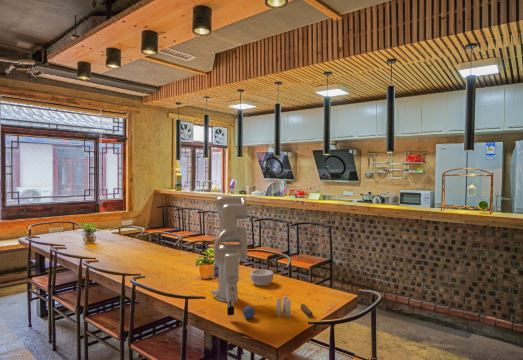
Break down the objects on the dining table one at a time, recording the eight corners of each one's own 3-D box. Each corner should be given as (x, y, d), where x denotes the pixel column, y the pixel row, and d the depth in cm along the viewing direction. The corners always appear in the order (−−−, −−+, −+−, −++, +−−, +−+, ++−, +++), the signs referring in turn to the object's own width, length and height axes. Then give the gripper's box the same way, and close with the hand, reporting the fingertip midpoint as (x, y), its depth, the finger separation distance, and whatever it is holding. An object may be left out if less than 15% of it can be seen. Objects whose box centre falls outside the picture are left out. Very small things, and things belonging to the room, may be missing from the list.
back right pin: (285, 317, 180) (286, 301, 180) (285, 315, 183) (286, 299, 182) (290, 317, 180) (290, 301, 180) (290, 315, 182) (290, 299, 182)
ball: (242, 320, 176) (242, 308, 176) (243, 315, 182) (244, 303, 182) (253, 320, 176) (254, 309, 175) (255, 316, 182) (255, 304, 181)
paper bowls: (253, 279, 242) (253, 268, 242) (274, 281, 239) (275, 269, 239) (248, 286, 228) (248, 274, 227) (271, 288, 224) (271, 276, 224)
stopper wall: (308, 317, 180) (308, 312, 180) (300, 308, 192) (300, 304, 192) (312, 317, 181) (312, 312, 181) (304, 308, 193) (304, 303, 192)
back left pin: (282, 313, 185) (283, 297, 185) (283, 311, 188) (283, 295, 187) (287, 313, 185) (287, 297, 185) (287, 312, 187) (287, 296, 187)
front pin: (276, 316, 182) (276, 299, 181) (276, 314, 184) (276, 298, 184) (280, 316, 181) (281, 300, 181) (281, 314, 184) (281, 298, 184)
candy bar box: (222, 272, 259) (222, 250, 258) (226, 273, 255) (227, 251, 255) (210, 275, 250) (210, 252, 250) (215, 276, 247) (215, 253, 246)
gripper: (241, 282, 170) (240, 319, 170) (235, 273, 184) (235, 308, 184) (225, 282, 168) (225, 321, 168) (221, 274, 182) (221, 309, 182)
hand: (230, 314), depth 176 cm, fingers closed
